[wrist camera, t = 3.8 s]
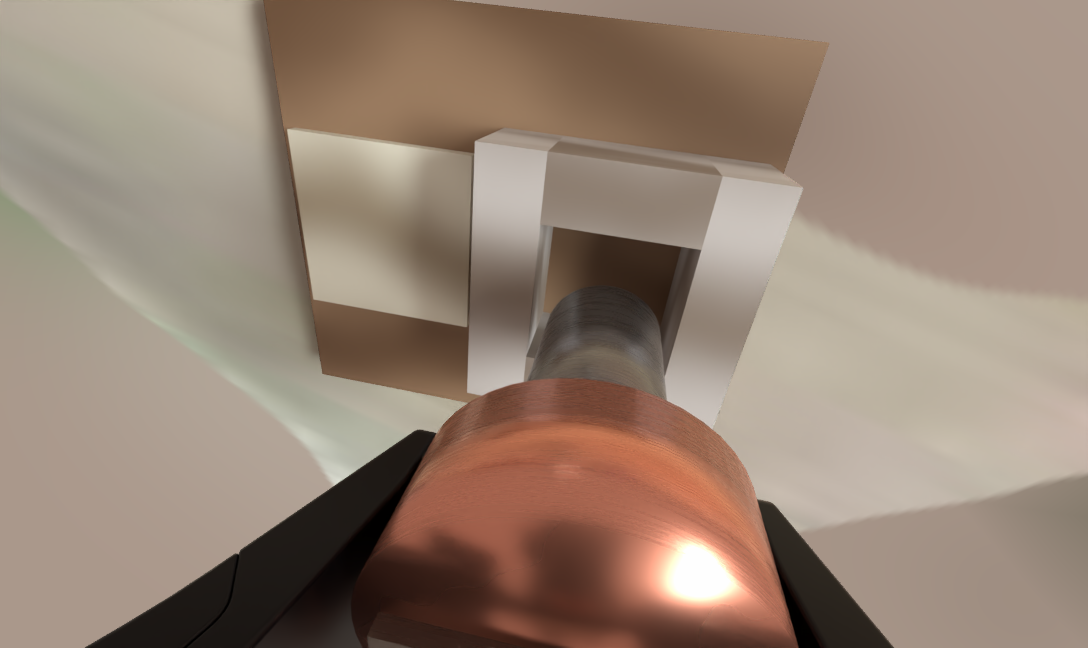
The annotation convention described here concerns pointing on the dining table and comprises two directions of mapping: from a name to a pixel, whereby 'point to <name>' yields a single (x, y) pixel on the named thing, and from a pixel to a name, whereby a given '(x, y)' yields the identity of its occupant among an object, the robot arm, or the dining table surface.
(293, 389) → the dining table surface
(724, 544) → the copper knob
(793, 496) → the dining table surface
